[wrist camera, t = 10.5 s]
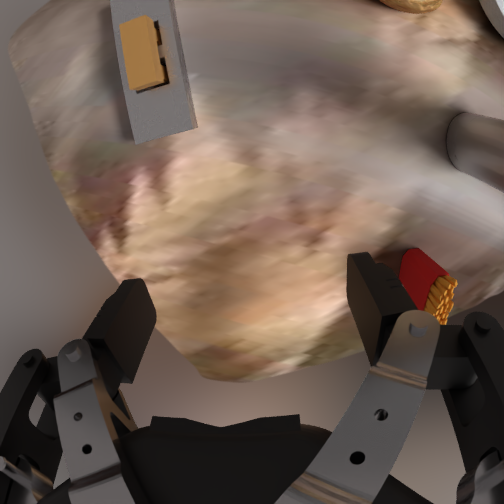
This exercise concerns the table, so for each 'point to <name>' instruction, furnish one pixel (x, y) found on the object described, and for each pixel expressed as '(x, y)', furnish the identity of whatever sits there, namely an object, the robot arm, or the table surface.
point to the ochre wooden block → (142, 53)
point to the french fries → (427, 284)
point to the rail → (178, 91)
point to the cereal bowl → (495, 13)
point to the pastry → (413, 5)
